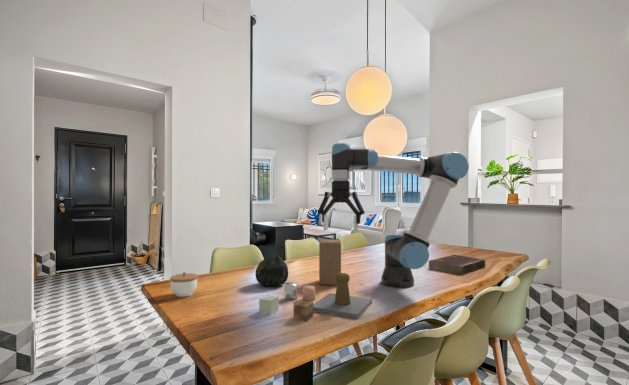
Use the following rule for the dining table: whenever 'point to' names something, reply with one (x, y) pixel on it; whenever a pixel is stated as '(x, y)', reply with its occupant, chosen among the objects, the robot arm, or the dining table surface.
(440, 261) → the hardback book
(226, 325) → the dining table surface
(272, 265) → the squash
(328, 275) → the wooden block
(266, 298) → the sage block
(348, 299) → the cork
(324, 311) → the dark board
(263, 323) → the dining table surface
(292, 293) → the metal tin
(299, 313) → the walnut block
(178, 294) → the lidded jar
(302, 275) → the dining table surface
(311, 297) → the peach rounded capsule
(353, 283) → the dining table surface
